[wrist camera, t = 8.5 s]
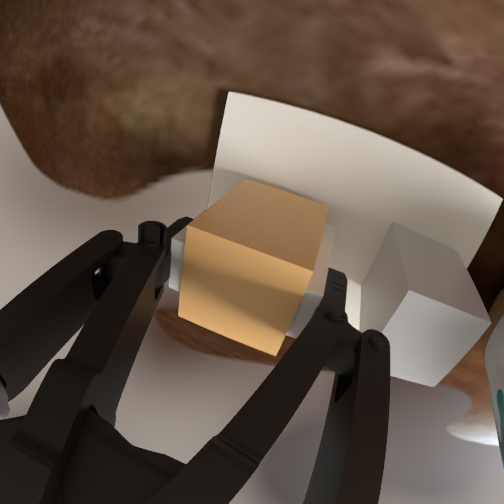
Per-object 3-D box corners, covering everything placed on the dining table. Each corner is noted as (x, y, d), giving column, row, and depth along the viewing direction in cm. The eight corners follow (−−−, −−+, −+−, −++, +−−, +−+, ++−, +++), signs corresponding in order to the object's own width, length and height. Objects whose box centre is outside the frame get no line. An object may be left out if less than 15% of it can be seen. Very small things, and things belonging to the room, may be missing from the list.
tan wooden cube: (230, 249, 20) (178, 315, 14) (246, 178, 17) (187, 225, 11) (302, 276, 19) (275, 356, 13) (328, 206, 16) (313, 271, 10)
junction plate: (203, 269, 24) (148, 336, 17) (236, 91, 17) (159, 92, 10) (405, 343, 21) (408, 427, 15) (495, 193, 14) (559, 253, 7)
